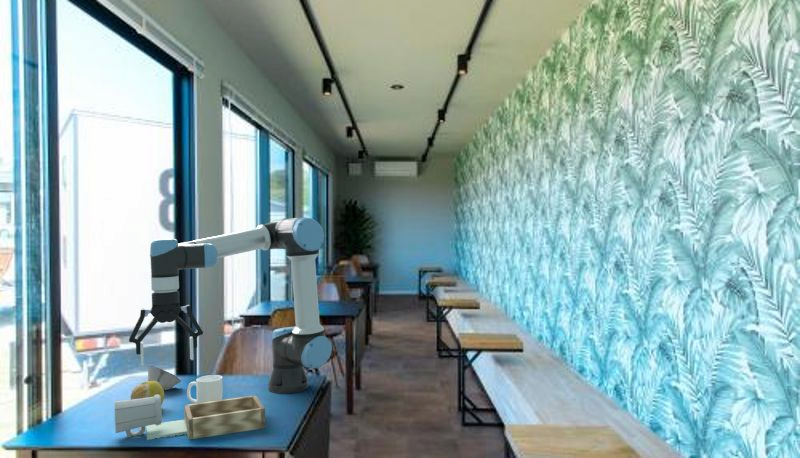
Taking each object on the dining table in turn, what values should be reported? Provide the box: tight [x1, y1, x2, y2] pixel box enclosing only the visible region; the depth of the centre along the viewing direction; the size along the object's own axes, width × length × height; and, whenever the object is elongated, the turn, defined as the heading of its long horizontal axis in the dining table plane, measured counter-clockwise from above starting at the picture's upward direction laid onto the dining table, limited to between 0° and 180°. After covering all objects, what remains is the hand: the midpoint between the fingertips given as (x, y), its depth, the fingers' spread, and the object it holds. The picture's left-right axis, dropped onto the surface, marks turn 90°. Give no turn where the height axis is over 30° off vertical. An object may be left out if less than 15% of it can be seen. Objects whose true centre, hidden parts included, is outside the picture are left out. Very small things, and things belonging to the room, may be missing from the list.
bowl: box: [147, 365, 181, 391], centre depth 205 cm, size 13×13×5 cm
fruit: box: [130, 380, 165, 406], centre depth 182 cm, size 10×11×10 cm
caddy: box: [183, 394, 266, 440], centre depth 167 cm, size 22×15×6 cm
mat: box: [145, 418, 187, 441], centre depth 163 cm, size 11×11×1 cm
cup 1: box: [114, 394, 163, 438], centre depth 159 cm, size 10×9×12 cm
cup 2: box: [186, 374, 224, 404], centre depth 185 cm, size 8×12×10 cm
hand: (167, 362), depth 163 cm, fingers open, 13 cm apart
